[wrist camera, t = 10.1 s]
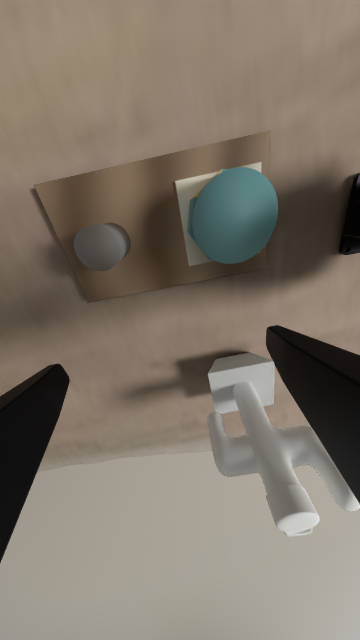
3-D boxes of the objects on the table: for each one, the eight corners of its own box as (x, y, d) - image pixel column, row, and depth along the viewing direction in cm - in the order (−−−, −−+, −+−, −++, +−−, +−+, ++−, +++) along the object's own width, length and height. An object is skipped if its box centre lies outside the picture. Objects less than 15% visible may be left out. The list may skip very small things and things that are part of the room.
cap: (266, 223, 16) (292, 225, 13) (213, 266, 18) (224, 279, 14) (230, 159, 14) (250, 141, 11) (174, 215, 16) (175, 215, 12)
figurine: (194, 354, 24) (221, 519, 11) (269, 339, 24) (393, 495, 10) (203, 392, 28) (232, 553, 15) (269, 380, 27) (362, 537, 14)
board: (265, 134, 14) (307, 99, 10) (262, 266, 19) (289, 281, 15) (40, 186, 15) (-12, 175, 11) (90, 299, 20) (68, 323, 16)
